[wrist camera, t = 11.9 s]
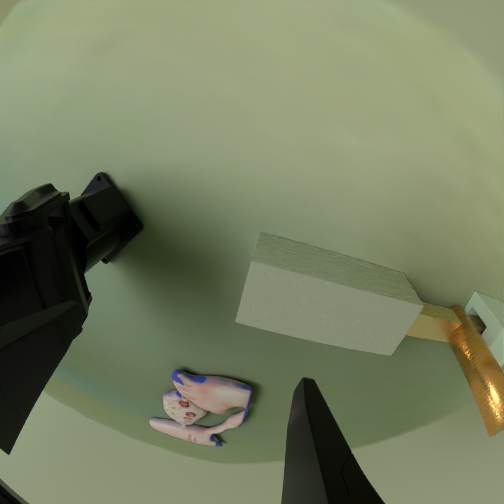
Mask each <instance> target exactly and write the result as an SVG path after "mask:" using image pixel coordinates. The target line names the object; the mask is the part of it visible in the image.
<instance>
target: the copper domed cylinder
mask: <svg viewBox="0 0 504 504" xmlns="http://www.w3.org/2000/svg"><path fill="white" fill-rule="evenodd" d="M421 302H422V301H421ZM422 304H423V306H424V307H423V308H422V310H421V312H420V313H419V315H418V317H417V318H416V320H415V321H414V323H413V324H412V326H411V328H410V329H409V331H408V332H407V334H406V335H408V336H413V337H418V338H424V339H430V340H435V341H441V342H447V343H449V344H450V346H451V348H452V350H453V352H454V354H455V356H456V358H457V360H458V362H459V364H460V366H461V368H462V370H463V372H464V375H465V377H466V379H467V381H468V383H469V386H470V388H471V390H472V393H473V395H474V397H475V400H476V402H477V405H478V407H479V410H480V412H481V415H482V418H483V421H484V423H485V426H486V429H487V432H488V435H489V436H490V437H491V436H493V435H496V434H498V433H500V432H501V431H503V430H504V373H503V371H502V369H501V367H500V366H499V364H498V362H497V360H496V359H495V357H494V355H493V353H492V352H491V350H490V348H489V347H488V345H487V343H486V342H485V340H484V339H483V337H482V334H483V332H484V331H485V329H486V328H487V326H486V325H485V323H484V322H483V321H482V319H481V318H480V317H479V316H475V315H471V314H468V313H466V312H465V310H464V309H463V307H462V306H460V305H455V306H452V307H450V308H445V307H441V306H437V305H434V304H430V303H426V302H422Z"/></svg>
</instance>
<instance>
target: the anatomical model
mask: <svg viewBox="0 0 504 504" xmlns="http://www.w3.org/2000/svg"><path fill="white" fill-rule="evenodd" d="M172 379H173V382H174V384H175V387H176V388H177V390H171V391H168V392H166V393H165V394H164V396H163V405H164V409H165V411H166V413H167V414H168V415H169V416H170V417H171V418H173V419H174V420H169V419H160V418H152V419H150V425H151V426H152V427H153V428H155V429H156V430H159V431H161V432H164V433H166V434H169V435H172V436H175V437H178V438H181V439H184V440H188V441H191V442H194V443H198V444H204V445H212V446H223V445H222V443H221V442H220V441H219V440H218V439H217V438H216V437H215V435H214V433H222V432H223V431H225V430H227V429H231V428H235V427H239V426H240V425H241V424H242V423H243V421H244V420H245V418H246V415H247V413H248V410H249V406H250V402H251V398H252V388H251V387H250V386H249V385H247V384H245V383H242V382H240V381H236V380H233V379H229V378H225V377H220V376H197V375H191V374H188V373H186V372H184V371H181V370H175V371H174V372H173V374H172ZM232 407H244V408H245V410H244V411H242V412H240V413H237V414H235V415H231V416H229V418H228V419H227V420H226V421H225V422H224V423H223V424H221V425H218V426H214V427H211V428H206V427H203V426H199V425H193V424H194V423H195V422H196V421H198V420H199V419H200V418H201V417H203V416H205V415H206V413H207V411H210V412H212V413H215V414H224V413H225V411H226V410H227V409H229V408H232ZM186 426H187V427H186Z"/></svg>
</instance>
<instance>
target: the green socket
mask: <svg viewBox="0 0 504 504" xmlns="http://www.w3.org/2000/svg"><path fill="white" fill-rule="evenodd" d="M464 310H465V312H466V313H468V314H471V315H475V316H479V317H480V318H481V319H482V321H483V322H484V323H485V325H486V326H487V328H486V329H485V331H484V332H483V334H482V337H483V339H484V340H485V342H486V343H487V345H488V347H489V348H490V350H491V352H492V353H493V355H494V357H495V359H496V360H497V362H498V364H499V366H500V367H501V368H502V367H503V366H504V303H503V302H502V301H501V300H499V299H496V298H493V297H490V296H487V295H485V294H482V293H479V292H476V291H475V292H474V293H473V295H472V297H471V299H470V300H469V302H468V304H467V305H466V307H465V309H464Z"/></svg>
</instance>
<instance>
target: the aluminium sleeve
mask: <svg viewBox="0 0 504 504" xmlns="http://www.w3.org/2000/svg"><path fill="white" fill-rule="evenodd" d="M423 307H424V306H423V304H422V302H421V301H420V299H419V297H418V296H417V294H416V292H415V291H414V289H413V288H412V286H411V284H410V283H409V281H408V280H407V278H406V276H405V275H404V273H401V272H398V271H395V270H391V269H388V268H385V267H381V266H378V265H375V264H371V263H368V262H365V261H361V260H358V259H355V258H351V257H348V256H344V255H341V254H337V253H334V252H331V251H327V250H324V249H320V248H317V247H313V246H310V245H306V244H302V243H299V242H295V241H292V240H288V239H285V238H281V237H277V236H274V235H270V234H266V233H263V232H260V235H259V238H258V241H257V244H256V247H255V250H254V253H253V257H252V260H251V263H250V267H249V271H248V275H247V279H246V283H245V286H244V290H243V294H242V298H241V302H240V306H239V309H238V313H237V317H236V321H235V322H237V323H241V324H245V325H248V326H252V327H256V328H260V329H263V330H267V331H271V332H275V333H279V334H284V335H288V336H292V337H296V338H301V339H305V340H309V341H314V342H319V343H323V344H328V345H333V346H338V347H343V348H348V349H354V350H359V351H365V352H371V353H377V354H383V355H389V356H391V355H392V354H393V352H394V351H395V350H396V348H397V347H398V345H399V344H400V342H401V341H402V340H403V338H404V337H405V335H406V334H407V332H408V331H409V329H410V328H411V326H412V324H413V323H414V321H415V320H416V318H417V317H418V315H419V313H420V312H421V310H422V308H423Z"/></svg>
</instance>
